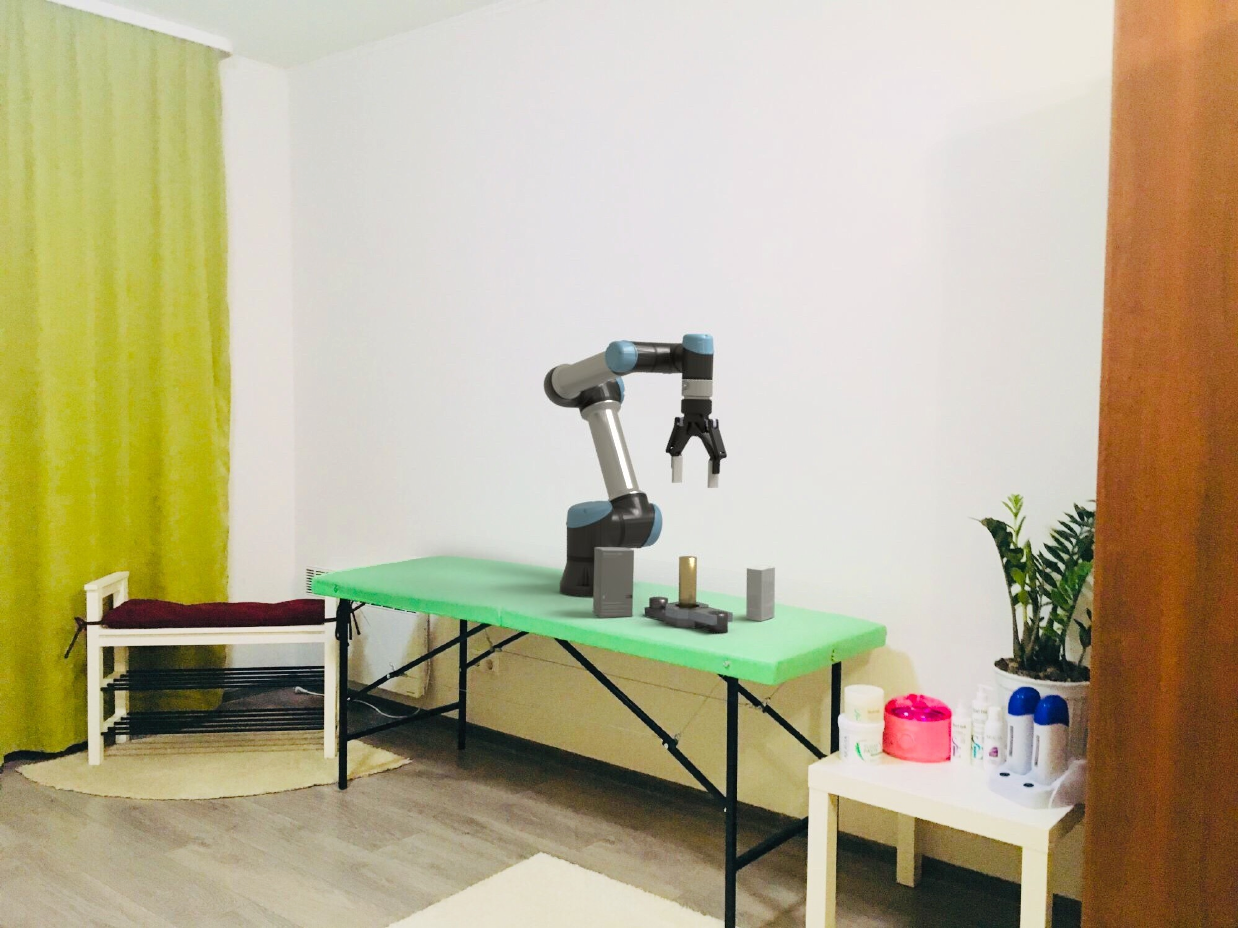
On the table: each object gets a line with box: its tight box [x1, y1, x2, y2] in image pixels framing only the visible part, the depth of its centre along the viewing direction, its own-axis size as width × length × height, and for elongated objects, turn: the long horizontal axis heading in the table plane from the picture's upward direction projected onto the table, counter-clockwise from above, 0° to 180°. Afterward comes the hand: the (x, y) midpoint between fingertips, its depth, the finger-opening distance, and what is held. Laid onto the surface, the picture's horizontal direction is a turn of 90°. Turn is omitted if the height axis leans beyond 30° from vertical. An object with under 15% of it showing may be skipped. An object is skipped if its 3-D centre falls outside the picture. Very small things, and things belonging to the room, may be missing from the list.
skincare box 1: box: [592, 547, 635, 619], centre depth 239 cm, size 8×7×16 cm
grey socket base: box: [644, 596, 734, 635], centre depth 231 cm, size 24×10×4 cm, turn 38°
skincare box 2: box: [745, 564, 776, 622], centre depth 237 cm, size 6×4×12 cm
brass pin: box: [678, 555, 698, 608], centre depth 231 cm, size 4×4×15 cm
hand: (694, 485), depth 250 cm, fingers open, 13 cm apart
